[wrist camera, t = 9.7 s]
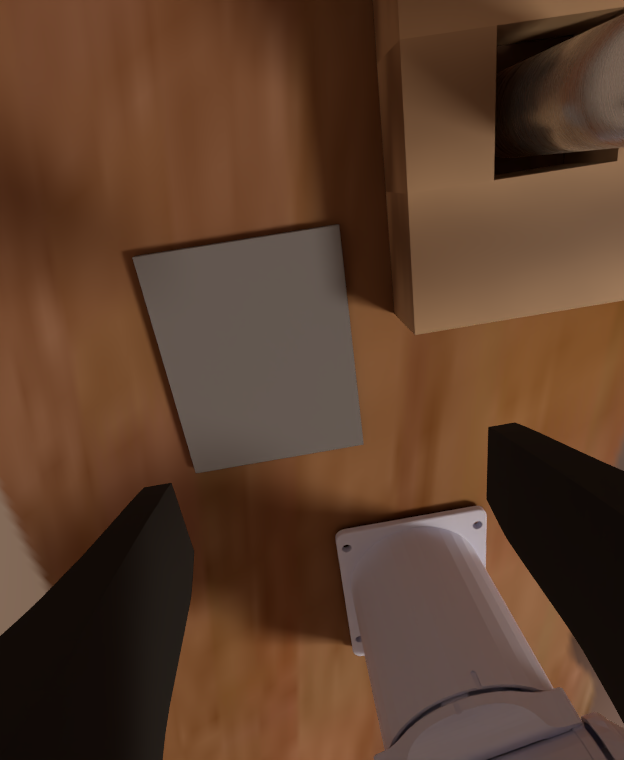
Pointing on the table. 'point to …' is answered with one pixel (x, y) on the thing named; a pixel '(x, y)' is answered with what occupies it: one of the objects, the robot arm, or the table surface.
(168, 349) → the mat
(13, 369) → the table surface
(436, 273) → the hole block
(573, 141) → the peg
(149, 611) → the robot arm
